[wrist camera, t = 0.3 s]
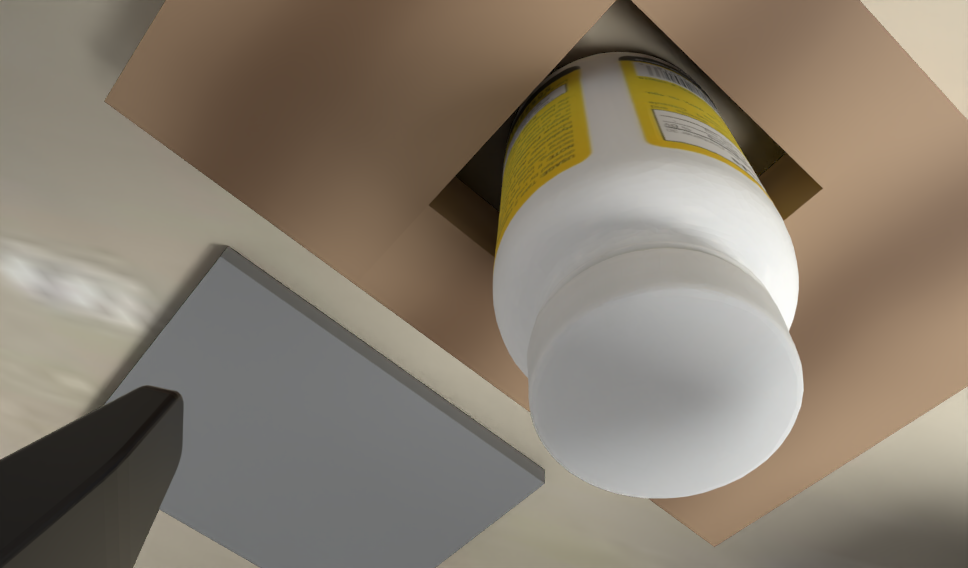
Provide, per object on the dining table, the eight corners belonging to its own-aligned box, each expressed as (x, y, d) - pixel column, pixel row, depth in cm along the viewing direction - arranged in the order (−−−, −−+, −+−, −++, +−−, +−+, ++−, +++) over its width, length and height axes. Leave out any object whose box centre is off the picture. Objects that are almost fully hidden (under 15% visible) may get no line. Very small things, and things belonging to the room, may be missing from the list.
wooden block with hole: (1058, 239, 20) (1120, 289, 18) (700, 485, 25) (714, 546, 23) (460, -418, 14) (445, -460, 12) (152, 70, 20) (104, 101, 17)
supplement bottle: (522, 262, 22) (507, 543, 13) (489, 66, 19) (442, 261, 10) (725, 237, 21) (847, 520, 12) (720, 29, 18) (871, 209, 10)
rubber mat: (544, 469, 25) (544, 483, 25) (363, 611, 30) (360, 625, 29) (228, 246, 22) (220, 256, 21) (74, 442, 26) (65, 454, 26)
